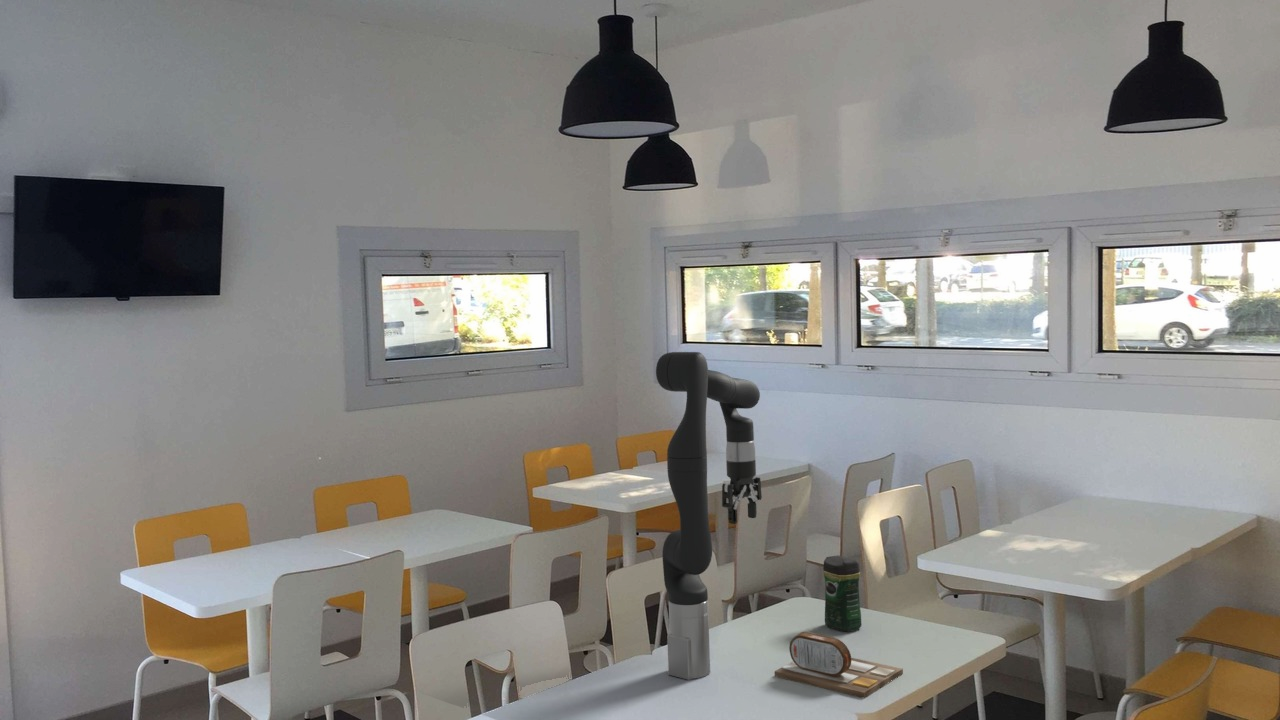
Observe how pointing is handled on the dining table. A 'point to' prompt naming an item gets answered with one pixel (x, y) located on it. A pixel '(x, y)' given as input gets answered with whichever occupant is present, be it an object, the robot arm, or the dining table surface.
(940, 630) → the dining table surface
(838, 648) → the tin
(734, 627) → the dining table surface
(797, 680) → the board
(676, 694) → the dining table surface
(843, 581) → the coffee jar
